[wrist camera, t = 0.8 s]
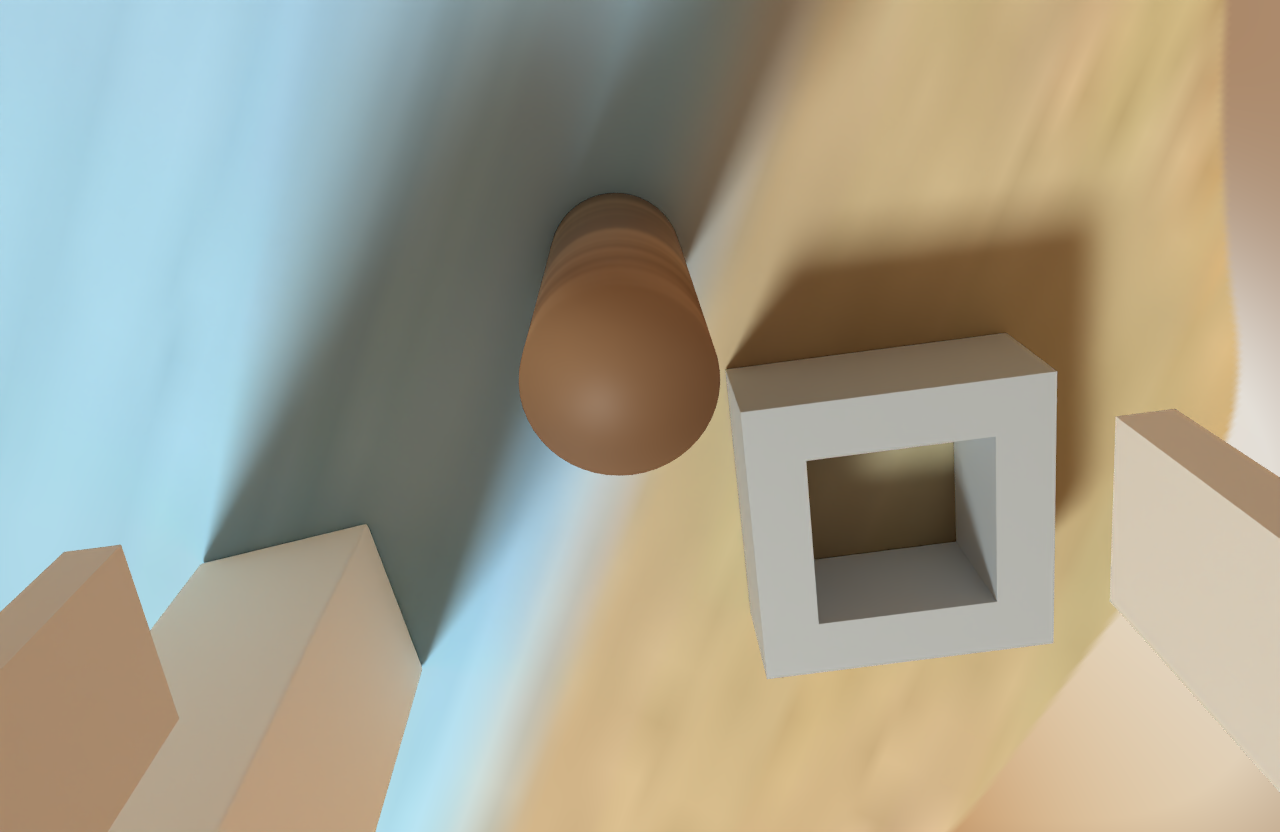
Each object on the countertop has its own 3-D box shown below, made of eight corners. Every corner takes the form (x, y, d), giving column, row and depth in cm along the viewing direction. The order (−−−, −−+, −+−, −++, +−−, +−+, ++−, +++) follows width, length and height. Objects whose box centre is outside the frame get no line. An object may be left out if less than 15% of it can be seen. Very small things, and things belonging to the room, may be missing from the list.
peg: (540, 202, 31) (502, 298, 20) (672, 184, 31) (709, 271, 20) (561, 329, 33) (536, 486, 21) (687, 312, 33) (729, 462, 21)
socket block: (725, 369, 33) (740, 412, 29) (1006, 332, 33) (1057, 371, 29) (750, 612, 36) (767, 679, 33) (1007, 579, 36) (1053, 643, 32)
